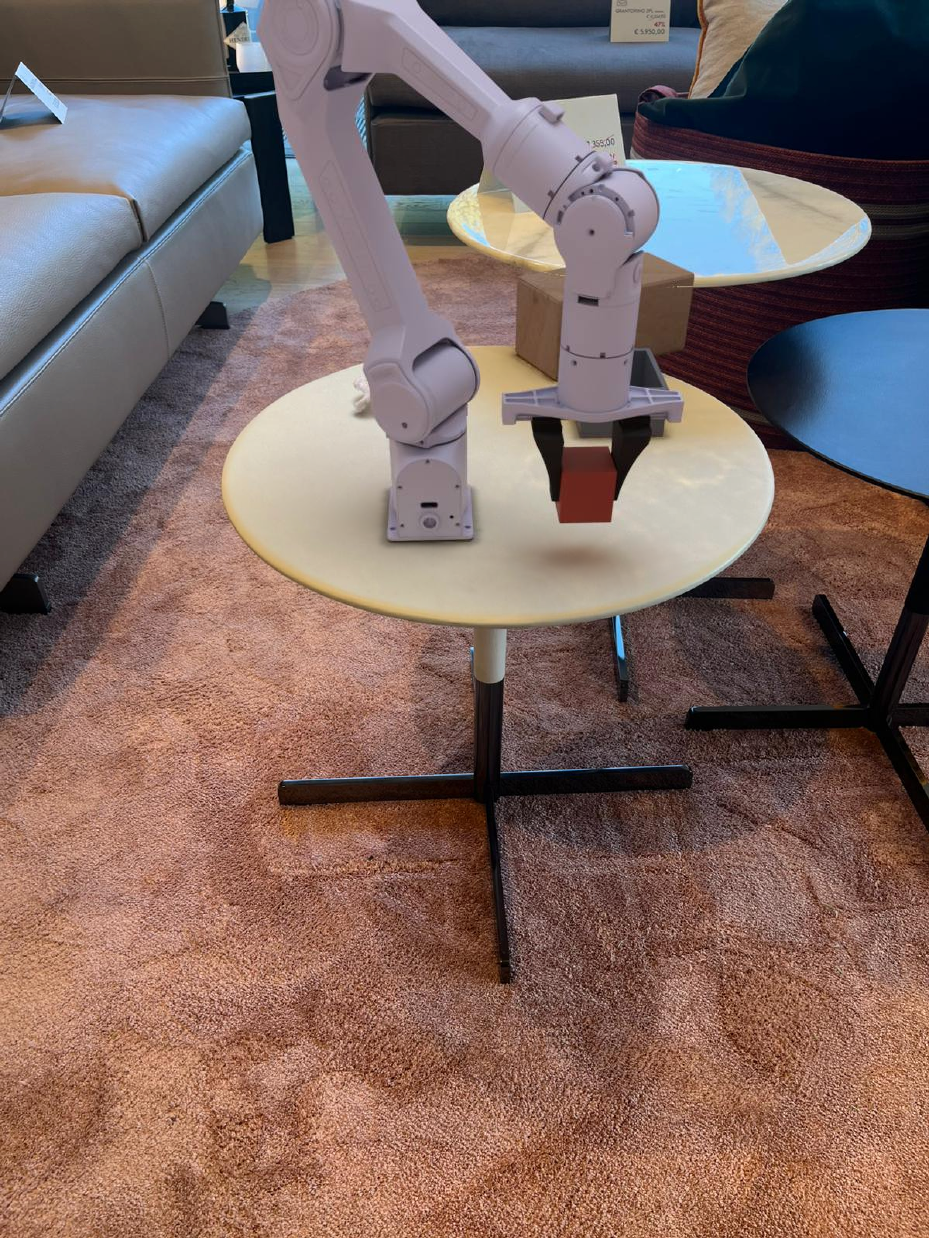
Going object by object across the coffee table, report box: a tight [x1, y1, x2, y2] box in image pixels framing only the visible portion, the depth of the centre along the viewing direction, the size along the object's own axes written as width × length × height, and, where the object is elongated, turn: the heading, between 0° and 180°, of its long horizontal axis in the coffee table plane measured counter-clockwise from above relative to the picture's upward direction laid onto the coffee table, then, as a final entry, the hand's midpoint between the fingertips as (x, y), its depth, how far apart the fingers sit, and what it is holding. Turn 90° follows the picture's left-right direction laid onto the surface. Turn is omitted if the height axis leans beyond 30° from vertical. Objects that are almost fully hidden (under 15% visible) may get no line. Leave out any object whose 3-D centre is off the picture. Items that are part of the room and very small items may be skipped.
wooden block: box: [514, 251, 695, 381], centre depth 117 cm, size 10×10×20 cm
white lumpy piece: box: [353, 376, 370, 413], centre depth 107 cm, size 8×4×7 cm
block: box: [554, 445, 617, 524], centre depth 79 cm, size 4×4×5 cm
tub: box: [575, 348, 670, 439], centre depth 104 cm, size 11×9×6 cm
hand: (583, 495), depth 80 cm, fingers closed on block, 4 cm apart
